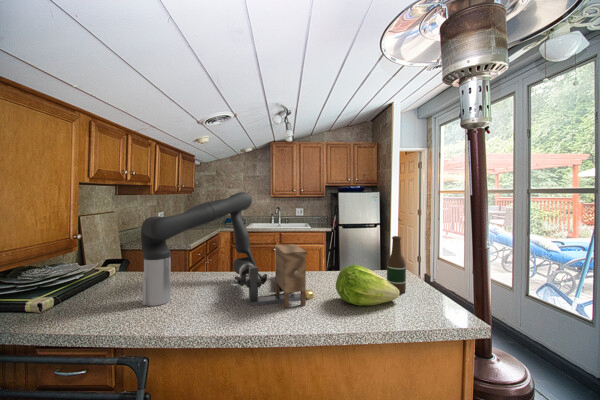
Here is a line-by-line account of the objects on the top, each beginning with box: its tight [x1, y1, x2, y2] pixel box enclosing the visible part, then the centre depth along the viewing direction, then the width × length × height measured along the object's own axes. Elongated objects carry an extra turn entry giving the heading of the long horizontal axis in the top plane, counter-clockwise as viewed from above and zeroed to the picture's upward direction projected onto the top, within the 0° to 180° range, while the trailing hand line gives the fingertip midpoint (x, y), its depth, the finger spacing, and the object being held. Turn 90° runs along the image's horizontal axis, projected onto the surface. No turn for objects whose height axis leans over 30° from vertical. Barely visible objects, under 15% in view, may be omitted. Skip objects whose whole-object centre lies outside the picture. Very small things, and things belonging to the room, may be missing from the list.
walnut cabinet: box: [273, 243, 308, 309], centre depth 109 cm, size 9×18×20 cm, turn 18°
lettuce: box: [335, 264, 400, 307], centre depth 106 cm, size 15×24×16 cm
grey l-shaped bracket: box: [248, 265, 301, 307], centre depth 108 cm, size 21×4×14 cm, turn 108°
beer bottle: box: [386, 235, 407, 295], centre depth 119 cm, size 8×8×24 cm
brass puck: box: [306, 289, 314, 301], centre depth 112 cm, size 5×5×2 cm
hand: (254, 285), depth 103 cm, fingers closed on grey l-shaped bracket, 3 cm apart
